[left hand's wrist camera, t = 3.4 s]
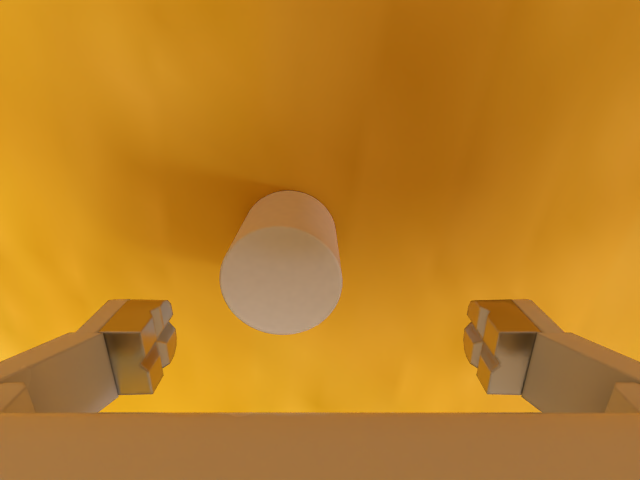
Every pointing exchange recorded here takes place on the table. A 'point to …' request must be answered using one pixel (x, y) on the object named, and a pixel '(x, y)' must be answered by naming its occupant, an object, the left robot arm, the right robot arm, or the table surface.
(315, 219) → the canister
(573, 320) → the table surface
